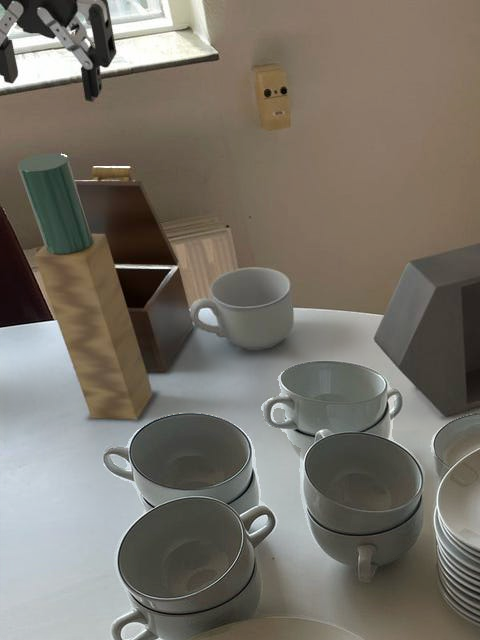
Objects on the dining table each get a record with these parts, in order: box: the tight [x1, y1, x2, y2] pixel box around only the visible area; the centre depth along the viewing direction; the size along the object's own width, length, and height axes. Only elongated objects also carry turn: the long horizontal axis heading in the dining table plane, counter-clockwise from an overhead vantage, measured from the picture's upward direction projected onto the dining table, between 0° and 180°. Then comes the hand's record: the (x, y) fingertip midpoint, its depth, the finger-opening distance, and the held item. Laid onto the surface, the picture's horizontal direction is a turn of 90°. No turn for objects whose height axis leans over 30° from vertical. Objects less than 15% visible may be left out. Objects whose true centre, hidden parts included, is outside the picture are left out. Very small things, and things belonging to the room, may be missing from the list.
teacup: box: [189, 266, 295, 351], centre depth 137 cm, size 14×11×8 cm
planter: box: [373, 242, 480, 417], centre depth 123 cm, size 17×8×21 cm
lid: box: [75, 166, 179, 266], centre depth 132 cm, size 14×11×5 cm
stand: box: [33, 234, 154, 420], centre depth 121 cm, size 6×6×21 cm
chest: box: [114, 264, 195, 374], centre depth 136 cm, size 13×11×9 cm
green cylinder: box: [17, 152, 94, 255], centre depth 111 cm, size 5×5×9 cm
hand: (51, 88), depth 109 cm, fingers open, 8 cm apart
